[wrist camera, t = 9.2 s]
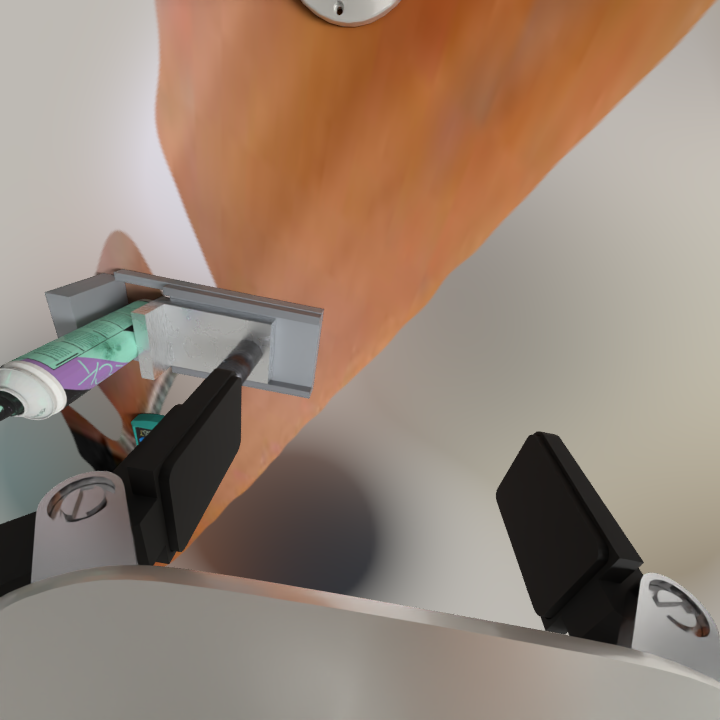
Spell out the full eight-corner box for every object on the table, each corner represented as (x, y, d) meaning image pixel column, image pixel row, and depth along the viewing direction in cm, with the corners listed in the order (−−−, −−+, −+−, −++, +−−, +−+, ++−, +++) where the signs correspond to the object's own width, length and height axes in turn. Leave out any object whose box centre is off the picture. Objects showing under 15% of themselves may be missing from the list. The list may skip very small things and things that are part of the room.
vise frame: (102, 265, 40) (41, 282, 33) (323, 309, 41) (311, 335, 34) (119, 350, 46) (70, 381, 39) (313, 387, 47) (300, 424, 40)
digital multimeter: (186, 416, 51) (175, 429, 49) (193, 481, 59) (184, 495, 56) (139, 408, 51) (126, 420, 49) (152, 474, 58) (141, 487, 56)
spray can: (130, 329, 44) (-38, 427, 27) (130, 292, 41) (-56, 374, 24) (171, 343, 45) (32, 447, 27) (174, 307, 42) (22, 397, 25)
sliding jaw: (161, 296, 40) (106, 324, 32) (275, 318, 40) (249, 352, 32) (168, 356, 44) (120, 394, 36) (272, 375, 44) (247, 418, 36)
